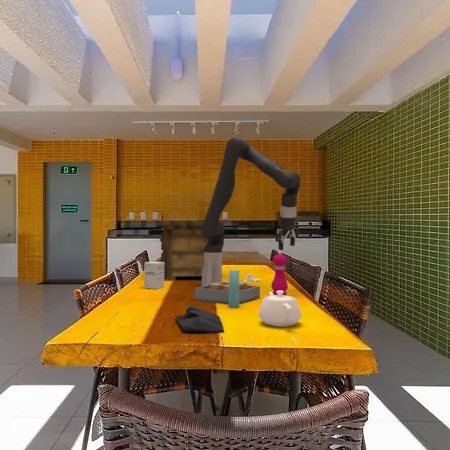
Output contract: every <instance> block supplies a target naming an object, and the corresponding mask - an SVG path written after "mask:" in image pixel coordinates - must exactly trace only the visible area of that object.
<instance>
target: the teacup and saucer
mask: <svg viewBox="0 0 450 450" xmlns="http://www.w3.org/2000/svg"><path fill="white" fill-rule="evenodd" d="M244 277H245V280H243V283H247V282H250V281H251V282H253V283H257V282H259V281H260V278H254V274H252V273H248V274H246V275H245V276H244ZM252 280H253V281H252Z"/></svg>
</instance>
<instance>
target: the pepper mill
mask: <svg viewBox="0 0 450 450" xmlns="http://www.w3.org/2000/svg"><path fill="white" fill-rule="evenodd" d="M287 262H288V259H287V257H286V256H285V255H284V254H283V253H282V250H279V251H278V252H277V254H276V255H275V256H273V259H272V263H273V264H274V266H273V269H274V278H273V279H272V281H271V286H270V287H271V290H273V291H271V292H272V293H273V295H278V294H277V292H276V291H284V293H283V294H282V295H286V296H288V295H287V294H288V292H287V290H288V288H289V286H288V282H287V279H286V276H285V270H286V264H287Z"/></svg>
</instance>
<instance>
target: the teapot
mask: <svg viewBox="0 0 450 450" xmlns="http://www.w3.org/2000/svg"><path fill="white" fill-rule="evenodd" d="M272 292H273V291H269V292H268V293H269V294H268V295H266V296H264V297H263V300H262V302H261V304H260V306H259V309H258V317H259V319H260V320H261V321H262V322H263V323H264V324H265V325H267V326H272V327H278V328H279V327H291V326H292V327H293V326H295V325H296V324H297V323H298V322H300V320H301V318H302V312H301V311H302V310H301V308H300V305H299V303H298V301H297V298H296V297H295V296H291V295H287V296H286V295H282V294H283V293H284V291H276V292H277V294H278V295H273V293H272Z"/></svg>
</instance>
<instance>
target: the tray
mask: <svg viewBox="0 0 450 450" xmlns="http://www.w3.org/2000/svg"><path fill="white" fill-rule="evenodd" d="M260 298H261V286H259V285H249V284H247V289H245V290H241V291H239V305H242V304H244V303H248V302H251V301H255V300H258V299H260ZM194 301H198V302H199V301H200V302H207V303H215V304H216V303H217V304H222V305H229V291H221V290H212V289H208V285H207V286H202V285H201V286H198V287H195V288H194Z"/></svg>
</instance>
